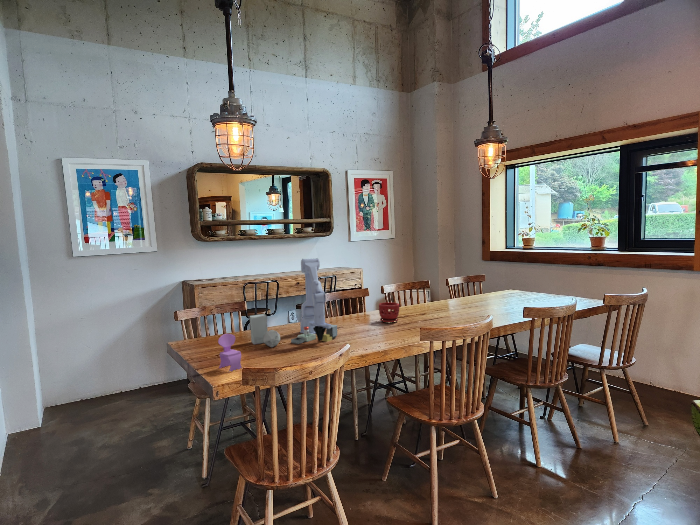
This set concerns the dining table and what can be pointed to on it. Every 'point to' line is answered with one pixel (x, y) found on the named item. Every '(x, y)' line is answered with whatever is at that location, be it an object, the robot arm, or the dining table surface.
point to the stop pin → (306, 331)
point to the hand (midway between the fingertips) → (320, 340)
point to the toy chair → (229, 353)
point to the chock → (326, 338)
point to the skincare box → (258, 328)
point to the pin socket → (297, 340)
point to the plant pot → (389, 315)
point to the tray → (310, 338)
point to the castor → (332, 331)
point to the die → (271, 338)
